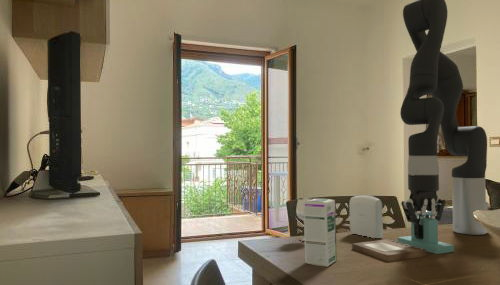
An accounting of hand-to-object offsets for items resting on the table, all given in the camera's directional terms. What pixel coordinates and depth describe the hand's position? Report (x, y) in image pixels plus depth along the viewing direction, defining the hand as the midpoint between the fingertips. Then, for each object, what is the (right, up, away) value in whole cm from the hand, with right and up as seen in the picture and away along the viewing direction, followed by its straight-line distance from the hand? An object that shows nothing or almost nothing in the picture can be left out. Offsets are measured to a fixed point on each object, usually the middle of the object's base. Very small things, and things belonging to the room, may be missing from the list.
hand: (424, 237), depth 104 cm
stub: (0, -2, 0) cm, 2 cm away
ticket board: (-11, -3, -5) cm, 13 cm away
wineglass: (-30, -3, +10) cm, 32 cm away
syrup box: (-30, -3, -13) cm, 33 cm away
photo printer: (-11, -3, +15) cm, 19 cm away
